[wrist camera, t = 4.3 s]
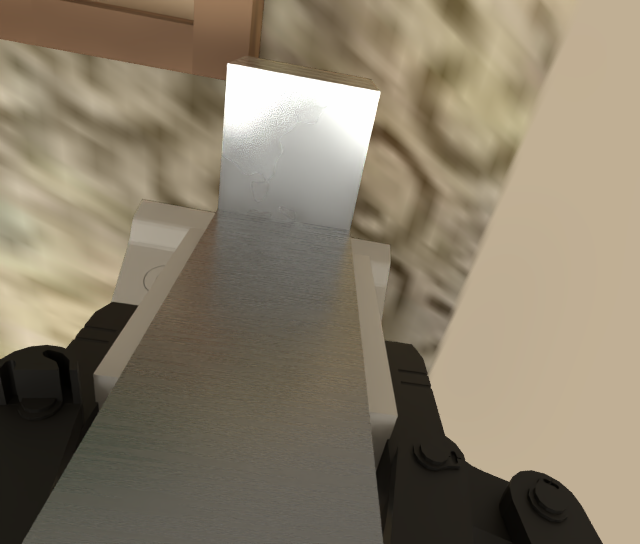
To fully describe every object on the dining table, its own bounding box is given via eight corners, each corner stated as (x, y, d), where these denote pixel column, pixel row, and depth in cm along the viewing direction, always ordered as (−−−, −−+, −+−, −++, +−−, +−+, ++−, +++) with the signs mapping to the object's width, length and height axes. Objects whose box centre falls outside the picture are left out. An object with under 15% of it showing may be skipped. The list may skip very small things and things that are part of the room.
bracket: (326, 290, 18) (325, 830, 6) (227, 274, 18) (17, 808, 6) (370, 78, 15) (602, 390, 2) (246, 55, 14) (-256, 265, 2)
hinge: (396, 245, 30) (401, 387, 23) (376, 289, 33) (376, 423, 27) (135, 197, 28) (63, 334, 22) (144, 248, 32) (85, 378, 25)
